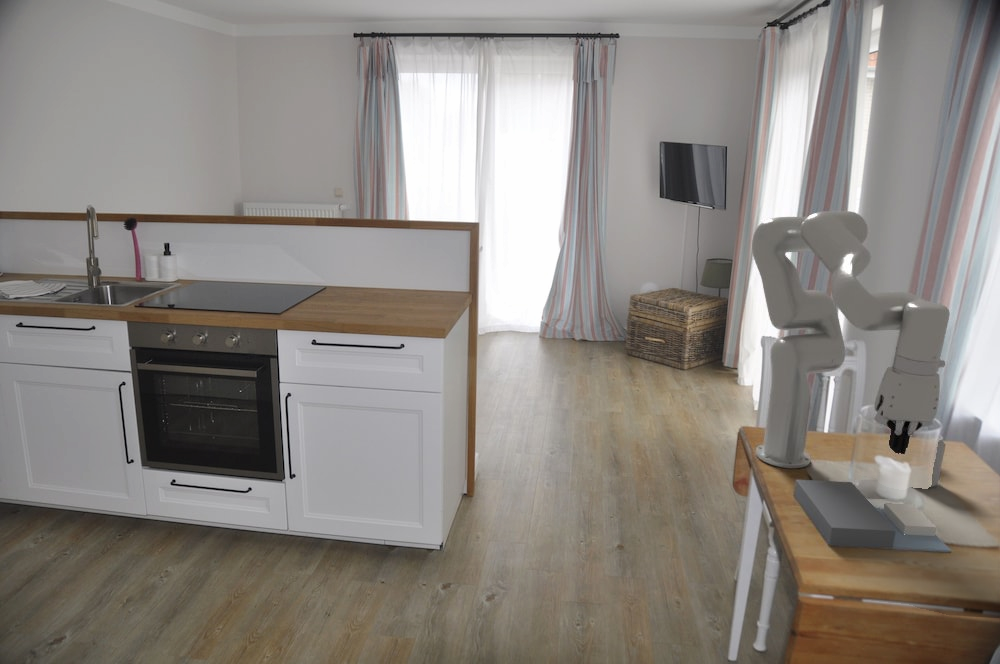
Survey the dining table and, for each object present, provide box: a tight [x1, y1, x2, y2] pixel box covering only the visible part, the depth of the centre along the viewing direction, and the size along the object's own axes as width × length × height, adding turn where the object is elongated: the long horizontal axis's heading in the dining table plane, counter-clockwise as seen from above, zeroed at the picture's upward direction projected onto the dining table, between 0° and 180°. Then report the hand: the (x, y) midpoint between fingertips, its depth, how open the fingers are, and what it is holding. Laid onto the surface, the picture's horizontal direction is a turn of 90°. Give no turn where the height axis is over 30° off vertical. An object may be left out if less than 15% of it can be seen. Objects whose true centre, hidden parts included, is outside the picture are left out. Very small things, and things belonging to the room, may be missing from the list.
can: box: [931, 434, 946, 488], centre depth 160 cm, size 8×8×12 cm
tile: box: [883, 503, 937, 536], centre depth 142 cm, size 9×6×2 cm, turn 176°
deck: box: [793, 479, 896, 550], centre depth 143 cm, size 20×12×4 cm, turn 176°
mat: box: [875, 507, 952, 553], centre depth 143 cm, size 20×11×1 cm, turn 176°
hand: (897, 450), depth 140 cm, fingers closed
